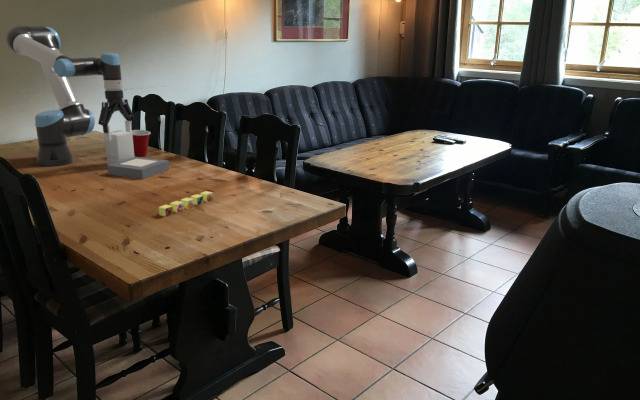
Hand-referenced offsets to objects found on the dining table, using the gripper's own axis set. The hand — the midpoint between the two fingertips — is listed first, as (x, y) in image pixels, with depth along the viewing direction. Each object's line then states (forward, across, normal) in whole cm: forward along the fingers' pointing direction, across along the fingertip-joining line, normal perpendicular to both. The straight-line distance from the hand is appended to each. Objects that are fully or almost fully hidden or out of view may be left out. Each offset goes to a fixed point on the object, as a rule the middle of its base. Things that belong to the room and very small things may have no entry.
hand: (118, 137), depth 238 cm
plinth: (+13, -7, -15) cm, 21 cm away
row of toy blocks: (+14, -39, -64) cm, 77 cm away
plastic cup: (+13, +19, +5) cm, 23 cm away
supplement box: (+13, 0, 0) cm, 13 cm away
